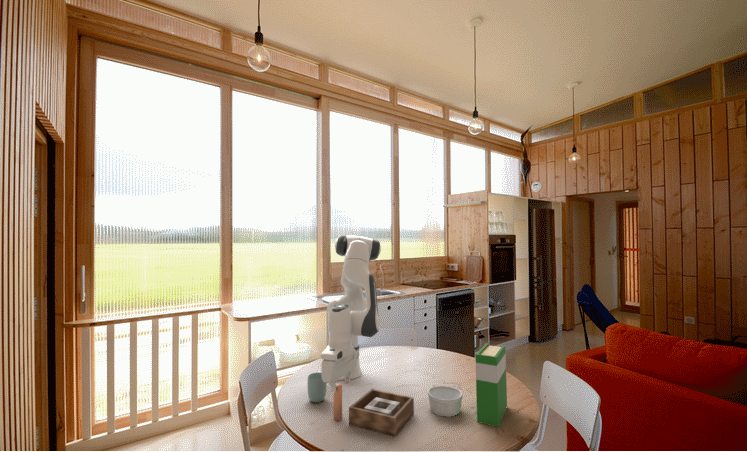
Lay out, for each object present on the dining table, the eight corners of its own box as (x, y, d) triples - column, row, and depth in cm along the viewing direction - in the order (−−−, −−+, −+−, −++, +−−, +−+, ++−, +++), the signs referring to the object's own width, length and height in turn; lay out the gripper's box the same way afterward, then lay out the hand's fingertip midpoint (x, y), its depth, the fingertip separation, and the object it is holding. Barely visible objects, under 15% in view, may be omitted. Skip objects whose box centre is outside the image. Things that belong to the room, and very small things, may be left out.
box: (348, 424, 121) (348, 407, 122) (371, 404, 137) (371, 388, 138) (395, 437, 113) (394, 418, 114) (413, 413, 129) (413, 397, 130)
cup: (329, 397, 143) (329, 373, 144) (320, 405, 136) (321, 380, 137) (313, 395, 146) (313, 371, 147) (303, 403, 139) (304, 377, 139)
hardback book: (487, 403, 138) (486, 342, 140) (507, 407, 134) (505, 345, 136) (477, 422, 123) (475, 354, 125) (498, 427, 119) (496, 357, 121)
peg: (331, 419, 125) (331, 386, 126) (336, 415, 128) (336, 382, 129) (339, 421, 124) (339, 387, 125) (343, 417, 127) (343, 384, 127)
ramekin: (456, 422, 123) (455, 402, 123) (422, 413, 130) (422, 394, 130) (467, 408, 134) (466, 389, 135) (435, 400, 141) (435, 383, 142)
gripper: (346, 341, 138) (347, 376, 137) (318, 355, 120) (318, 396, 119) (360, 342, 136) (361, 378, 134) (333, 357, 117) (334, 399, 116)
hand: (341, 387), depth 126 cm, fingers open, 8 cm apart
